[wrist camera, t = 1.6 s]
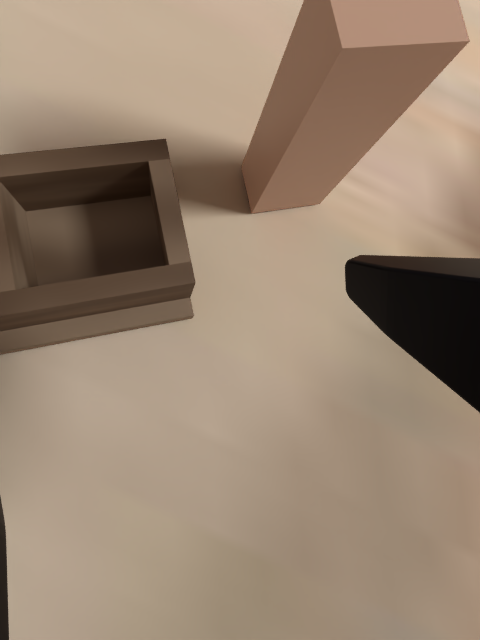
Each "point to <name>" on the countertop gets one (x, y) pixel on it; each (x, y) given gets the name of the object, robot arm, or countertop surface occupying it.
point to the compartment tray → (90, 244)
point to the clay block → (344, 91)
